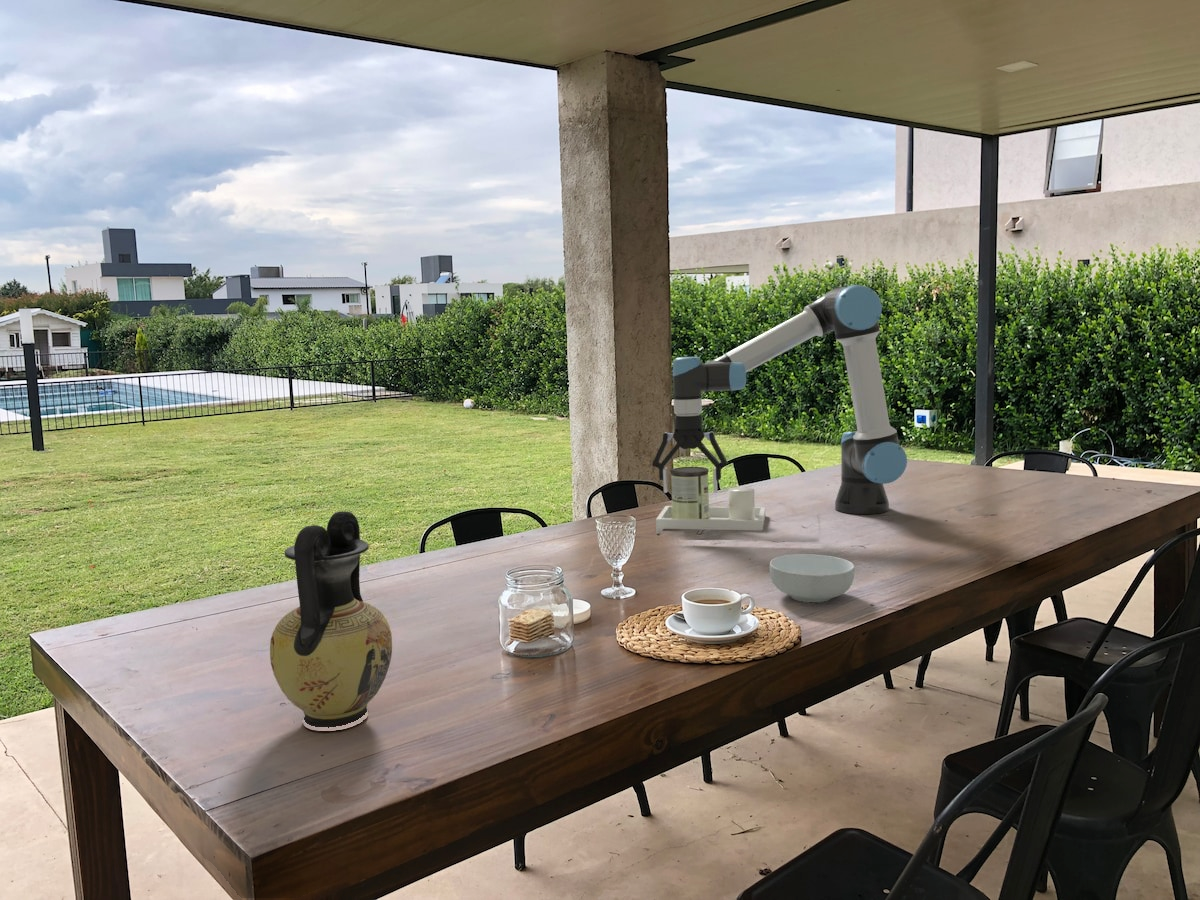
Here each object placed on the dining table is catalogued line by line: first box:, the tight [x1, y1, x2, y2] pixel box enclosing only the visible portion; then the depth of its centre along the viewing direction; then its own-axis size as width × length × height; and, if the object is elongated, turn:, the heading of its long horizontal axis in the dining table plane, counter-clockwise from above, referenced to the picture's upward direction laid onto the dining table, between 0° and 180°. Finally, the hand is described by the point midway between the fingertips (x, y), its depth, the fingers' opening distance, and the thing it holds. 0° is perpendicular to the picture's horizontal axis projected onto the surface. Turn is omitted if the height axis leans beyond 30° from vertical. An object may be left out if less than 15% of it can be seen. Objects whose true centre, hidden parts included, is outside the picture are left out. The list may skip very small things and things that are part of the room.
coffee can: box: [670, 466, 710, 519], centre depth 253 cm, size 10×10×14 cm
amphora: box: [269, 510, 393, 728], centre depth 133 cm, size 18×17×30 cm
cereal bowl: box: [769, 553, 855, 603], centre depth 187 cm, size 17×17×7 cm
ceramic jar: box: [727, 486, 756, 520], centre depth 250 cm, size 7×7×9 cm
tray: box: [655, 505, 766, 535], centre depth 252 cm, size 28×18×4 cm, turn 78°
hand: (690, 491), depth 253 cm, fingers open, 13 cm apart
